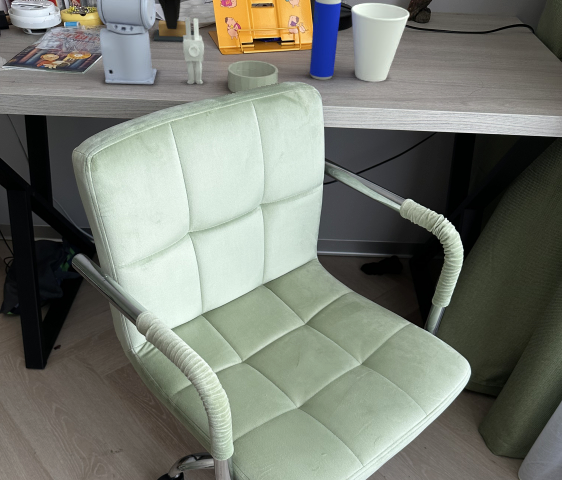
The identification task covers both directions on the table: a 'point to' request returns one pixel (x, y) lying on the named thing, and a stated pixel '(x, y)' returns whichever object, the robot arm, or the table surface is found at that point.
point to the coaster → (169, 37)
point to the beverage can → (324, 38)
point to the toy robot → (193, 52)
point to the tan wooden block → (172, 32)
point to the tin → (251, 75)
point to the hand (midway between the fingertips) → (173, 23)
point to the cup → (376, 38)
